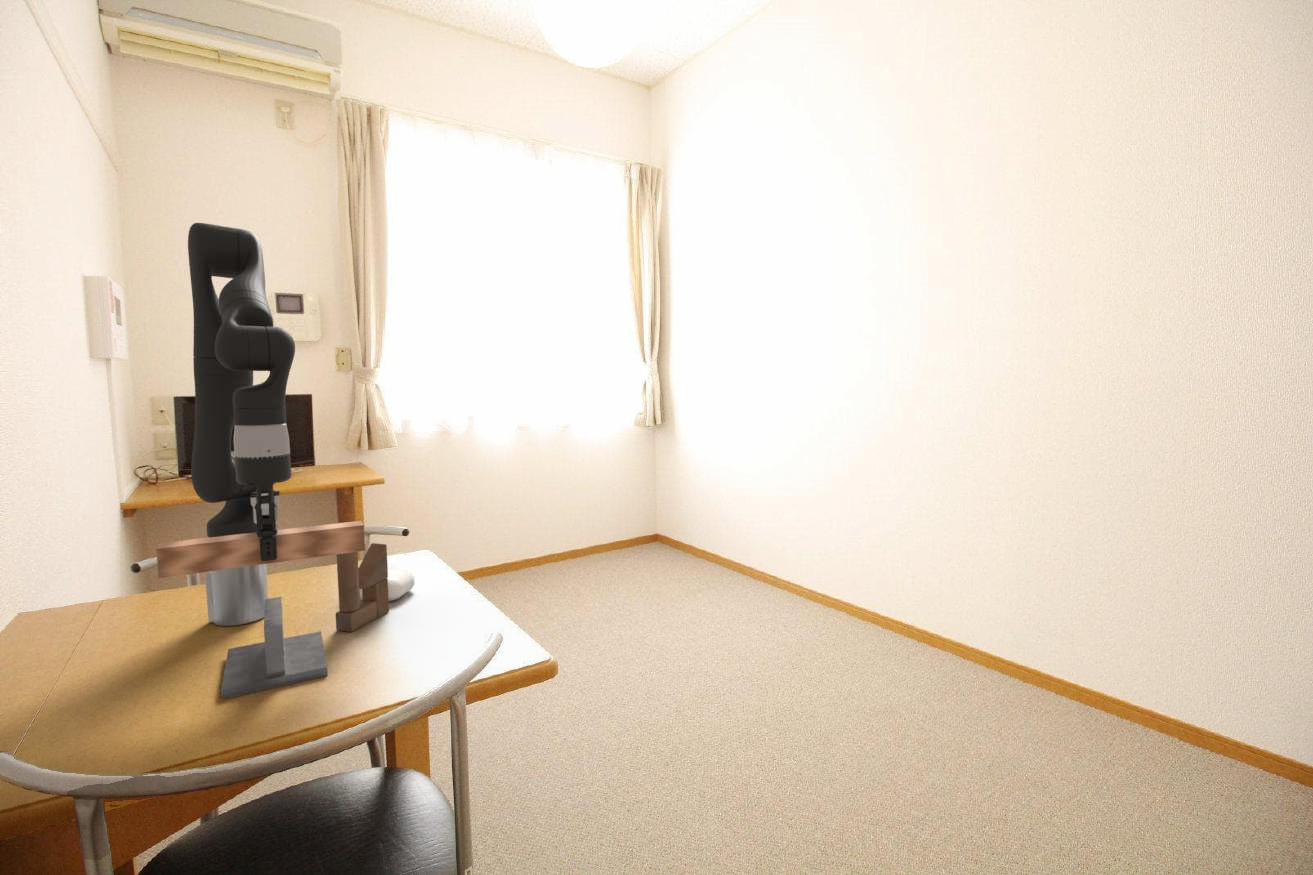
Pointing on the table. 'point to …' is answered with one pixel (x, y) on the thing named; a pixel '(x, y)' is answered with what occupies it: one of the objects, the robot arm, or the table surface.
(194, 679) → the table surface
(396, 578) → the earbud case
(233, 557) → the bar
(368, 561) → the brown wooden block stack
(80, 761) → the table surface
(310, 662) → the stand
